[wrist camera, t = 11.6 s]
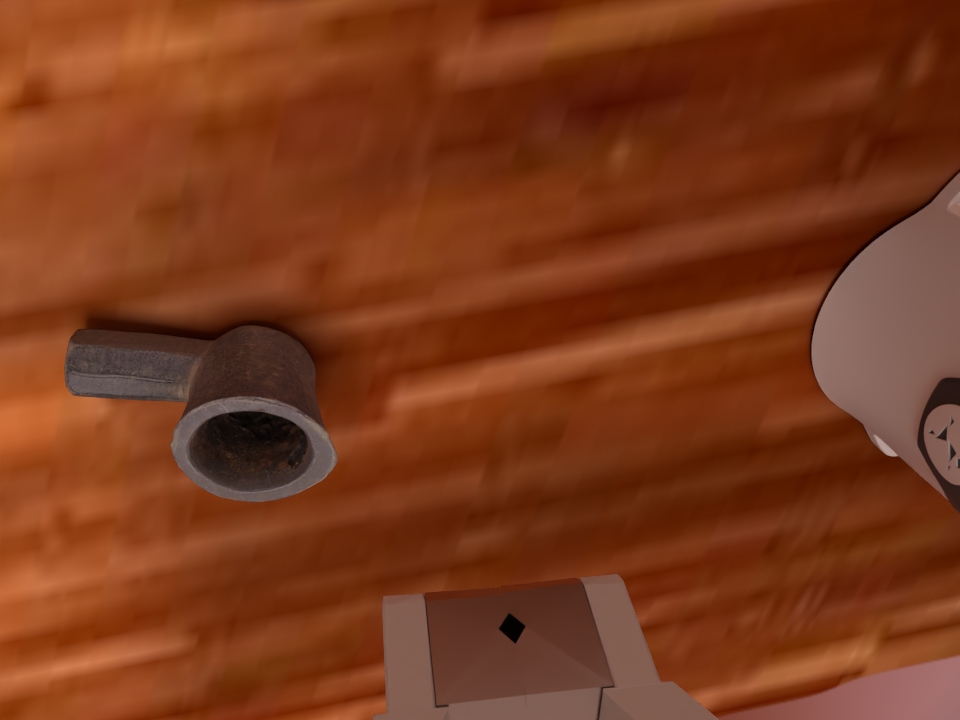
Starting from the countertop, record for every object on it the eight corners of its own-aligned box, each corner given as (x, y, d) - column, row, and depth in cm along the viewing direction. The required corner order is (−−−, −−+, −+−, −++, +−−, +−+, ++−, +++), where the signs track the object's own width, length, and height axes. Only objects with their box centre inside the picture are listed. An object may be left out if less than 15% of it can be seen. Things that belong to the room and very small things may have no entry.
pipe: (82, 286, 40) (29, 376, 34) (347, 318, 43) (346, 408, 37) (86, 389, 44) (37, 491, 37) (332, 413, 46) (329, 512, 40)
